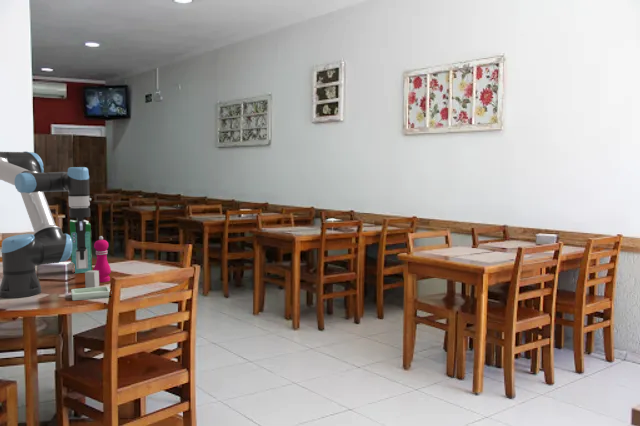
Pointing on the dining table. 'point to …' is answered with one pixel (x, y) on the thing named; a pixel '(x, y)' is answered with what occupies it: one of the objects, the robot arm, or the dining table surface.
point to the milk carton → (87, 245)
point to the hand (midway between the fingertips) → (82, 266)
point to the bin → (90, 293)
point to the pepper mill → (102, 260)
